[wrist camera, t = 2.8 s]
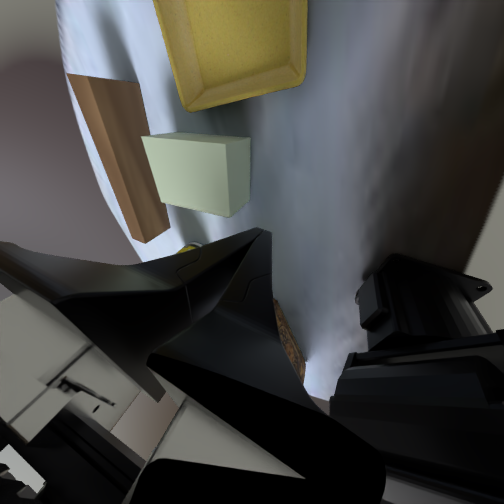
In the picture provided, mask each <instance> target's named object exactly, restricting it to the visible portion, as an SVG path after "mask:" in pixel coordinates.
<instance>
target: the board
mask: <svg viewBox="0 0 504 504" xmlns="http://www.w3.org/2000/svg"><path fill="white" fill-rule="evenodd" d="M67 76H68V78H69V81H70V83H71V86H72V88H73V91H74V93H75V96H76V98H77V101H78V103H79V106H80V108H81V111H82V113H83V116H84V118H85V121H86V124H87V126H88V129H89V131H90V134H91V136H92V139H93V141H94V144H95V146H96V149H97V151H98V154H99V156H100V159H101V161H102V164H103V166H104V169H105V171H106V174H107V176H108V179H109V181H110V184H111V186H112V189H113V191H114V194H115V196H116V199H117V201H118V204H119V206H120V209H121V211H122V214H123V216H124V219H125V221H126V224H127V226H128V229H129V231H130V234H131V236H132V238H133V239H135V240H138V241H140V242H142V243H145V244H146V243H147V242H149V241H151V240H152V239H154V238H155V237H157V236H158V235H160V234H161V233H163V232H164V231H166V230H168V229H169V228H170V224H169V219H168V215H167V210H166V205H165V203H162V202H161V200H160V196H159V193H158V190H157V187H156V183H155V180H154V177H153V174H152V170H151V167H150V164H149V161H148V157H147V154H146V151H145V148H144V144H143V141H142V138H141V136H149V135H150V132H149V127H148V123H147V118H146V114H145V109H144V104H143V100H142V95H141V91H140V86H139V83H133V82H127V81H120V80H113V79H105V78H98V77H91V76H83V75H76V74H68V73H67Z"/></svg>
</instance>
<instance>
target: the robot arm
mask: <svg viewBox="0 0 504 504" xmlns="http://www.w3.org/2000/svg"><path fill="white" fill-rule="evenodd" d="M396 259H398V261H393V260H396ZM0 283H1V284H2V285H4V286H5V287H6V288H7V289H9V290H10V291H11V292H12V293H13V294H14V295H12V296H10V297H8V298H6V299H4V300H2V301H1V302H0V451H1V450H3V449H4V448H5V447H6V446H7V445H8V444H10V445H11V446H12V447H13V449H14V450H16V452H17V453H18V454H19V455H20V456H22V457H23V459H24V460H25V461H27V463H28V464H30V466H32V467H33V469H34V470H35V471H36V472H38V474H39V475H40V476H41V477H42V478H43V479H44V480H45V482H44V483H43V485H44V486H43V487H42V488H41V490H40V491H39V492H38V493H36V492H35V491H34V490H33V489H32V488H31V487H30V486H29V485H25V484H24V483H23V482H22V481H17V480H16V479H15V478H14V476H13V475H12V474H11V473H9V472H8V470H9V469H10V468H9V467H8V466H7V465H6V464H2V463H0V504H504V329H501V330H496V333H493V331H492V330H491V328H490V327H489V325H488V324H487V322H486V321H485V319H484V318H483V316H482V315H481V313H480V311H479V310H478V308H477V307H476V305H475V304H474V301H476V300H478V299H479V298H481V297H482V296H484V295H485V294H487V293H489V292H490V291H491V290H492V286H491V285H490V284H489V282H487V281H485V280H482V279H479V278H475V277H472V276H469V275H466V274H462V273H459V272H456V271H453V270H449V269H446V268H443V267H440V266H436V265H433V264H430V263H426V262H423V261H420V260H417V259H413V258H410V257H407V256H404V255H400V254H392V255H390V256H389V257H388V258H387V259H386V261H385V262H384V263H383V264H382V266H381V267H380V268H379V269H378V270H377V272H374V273H372V274H371V275H370V276H369V278H368V279H367V280H366V281H365V283H364V284H363V285H362V286H361V288H360V289H359V294H358V295H357V296H356V297H355V303H356V304H357V305H359V310H360V325H361V327H362V329H365V330H367V342H368V352H363V353H357V352H354V353H349V355H348V357H347V360H346V363H345V366H344V369H343V371H342V374H341V376H340V377H339V379H338V382H337V386H336V390H335V394H334V396H331V397H330V400H329V411H330V412H329V415H327V414H326V413H324V412H323V411H322V410H321V409H320V408H319V407H318V406H317V405H316V404H315V403H314V401H313V400H312V399H311V398H310V396H309V395H308V393H307V391H306V390H305V388H304V386H303V384H302V382H301V380H300V378H299V376H298V374H297V372H296V370H295V368H294V366H293V364H292V362H291V360H290V359H289V357H288V355H287V353H286V351H285V349H284V347H283V344H282V341H281V338H280V334H279V329H278V324H277V318H276V312H275V306H274V300H273V292H272V232H270V231H267V230H263V229H261V228H258V227H256V228H253V229H250V230H247V231H244V232H241V233H238V234H235V235H232V236H229V237H227V238H224V239H221V240H218V241H215V242H212V243H209V244H206V245H203V246H201V247H197V248H194V249H191V250H188V251H185V252H182V253H178V254H174V255H171V256H167V257H163V258H159V259H155V260H151V261H147V262H143V263H139V264H135V265H112V264H106V263H100V262H92V261H87V260H80V259H74V258H67V257H60V256H54V255H48V254H43V253H38V252H33V251H29V250H26V249H24V248H21V247H19V246H18V245H16V244H14V243H10V242H2V241H0ZM480 286H483V287H480ZM477 287H479V288H477ZM140 391H141V392H142V393H144V394H145V395H147V396H148V397H149V398H151V399H152V400H154V401H155V402H157V403H158V402H159V401H160V400H161V398H162V397H163V395H164V394H165V392H167V393H168V394H169V395H170V397H171V398H172V399H173V401H174V402H175V403H176V404H177V406H178V407H179V409H178V411H177V413H176V414H175V416H174V418H173V419H172V421H171V423H170V425H169V426H168V428H167V430H166V431H165V433H164V435H163V437H162V438H161V440H160V442H159V443H158V445H157V447H155V449H154V450H153V451H152V453H151V455H150V456H149V458H148V460H147V461H145V460H144V459H143V458H142V457H140V456H139V455H138V454H137V453H135V452H134V451H133V450H132V449H130V448H129V447H128V446H127V445H125V444H124V443H123V442H122V441H120V440H119V439H118V438H117V437H115V436H114V435H113V434H112V433H110V431H111V430H112V429H113V427H114V426H115V425H116V423H117V422H118V421H119V419H120V418H121V417H122V415H123V414H124V413H125V411H126V410H127V409H128V407H129V406H130V405H131V403H132V402H133V401H134V399H135V398H136V397H137V395H138V394H139V393H140Z"/></svg>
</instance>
